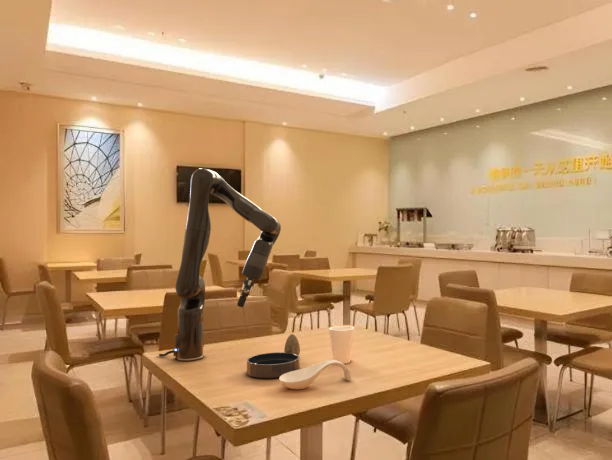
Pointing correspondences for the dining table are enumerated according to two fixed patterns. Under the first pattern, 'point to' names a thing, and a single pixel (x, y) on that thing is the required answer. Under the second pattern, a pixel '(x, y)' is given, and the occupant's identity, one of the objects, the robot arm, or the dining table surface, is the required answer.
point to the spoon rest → (309, 375)
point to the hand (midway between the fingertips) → (239, 306)
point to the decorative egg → (292, 345)
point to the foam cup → (341, 342)
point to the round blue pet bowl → (272, 364)
